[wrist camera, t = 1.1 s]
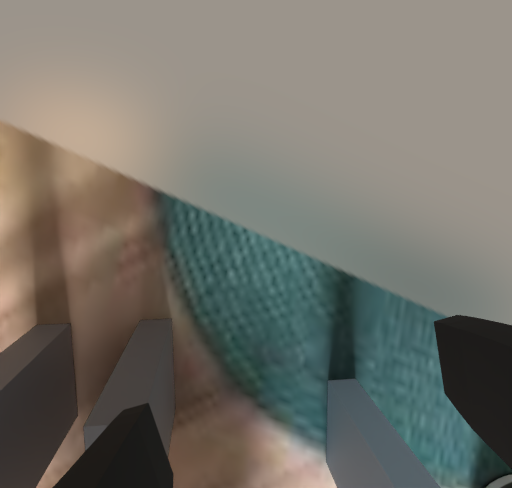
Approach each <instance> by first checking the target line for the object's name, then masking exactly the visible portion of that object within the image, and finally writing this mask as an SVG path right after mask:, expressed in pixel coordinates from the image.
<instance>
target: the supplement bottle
mask: <svg viewBox="0 0 512 488" xmlns="http://www.w3.org/2000/svg"><path fill="white" fill-rule="evenodd" d="M486 488H512V475H507V476H503V477H501V478H499V479H497V480H495V481H493V482H492V483H490V484H489V485H488V486H487V487H486Z"/></svg>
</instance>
